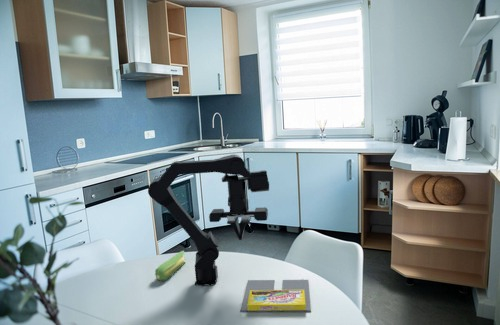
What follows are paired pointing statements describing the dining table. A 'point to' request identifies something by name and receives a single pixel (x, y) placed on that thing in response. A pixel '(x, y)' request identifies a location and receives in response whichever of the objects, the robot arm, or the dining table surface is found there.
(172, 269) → the edible corn
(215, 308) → the dining table surface
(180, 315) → the dining table surface
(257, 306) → the candy box
